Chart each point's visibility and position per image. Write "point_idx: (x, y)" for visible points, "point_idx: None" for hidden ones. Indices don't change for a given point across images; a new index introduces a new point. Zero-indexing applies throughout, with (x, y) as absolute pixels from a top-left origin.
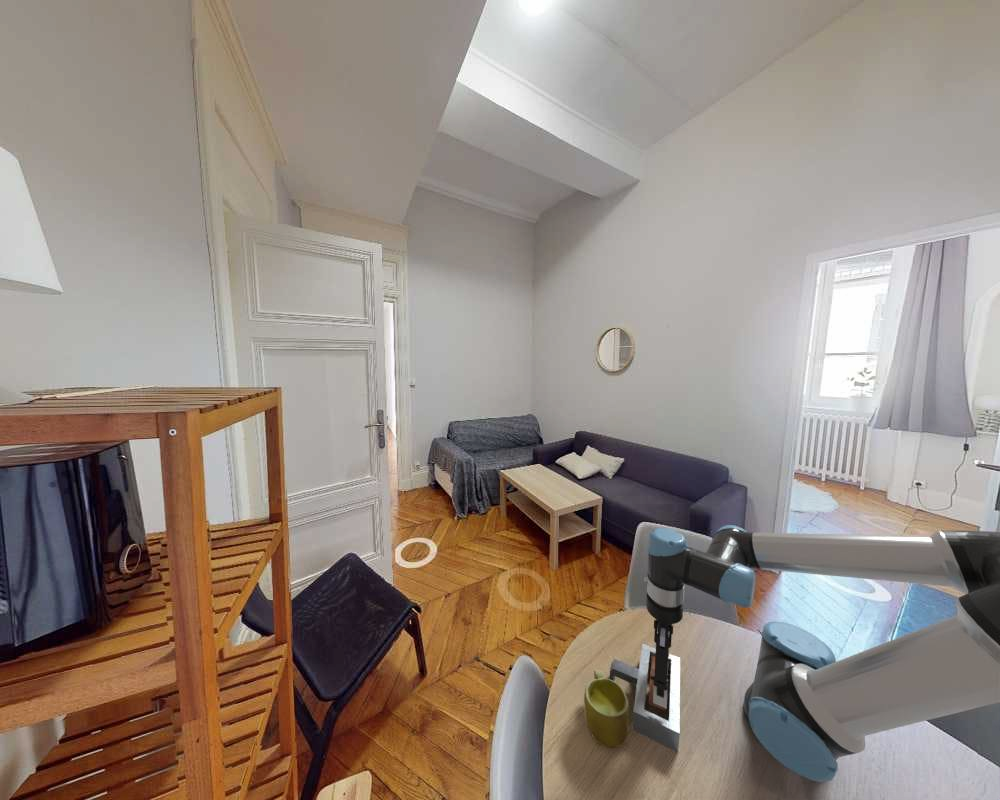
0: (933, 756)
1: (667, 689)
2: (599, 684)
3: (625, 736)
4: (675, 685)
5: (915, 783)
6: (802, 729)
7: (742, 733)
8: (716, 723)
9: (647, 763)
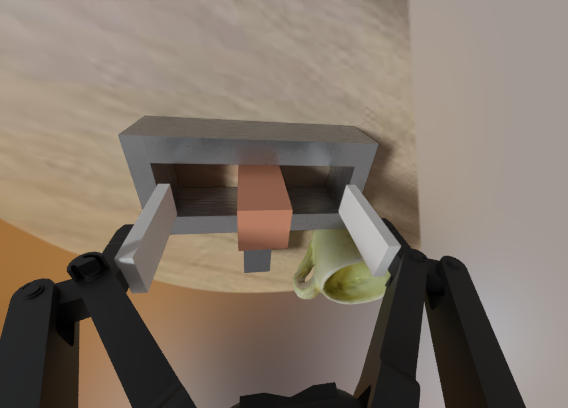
0: None
1: (385, 225)
2: (326, 285)
3: None
4: (245, 151)
5: None
6: None
7: None
8: (249, 12)
9: (380, 175)
